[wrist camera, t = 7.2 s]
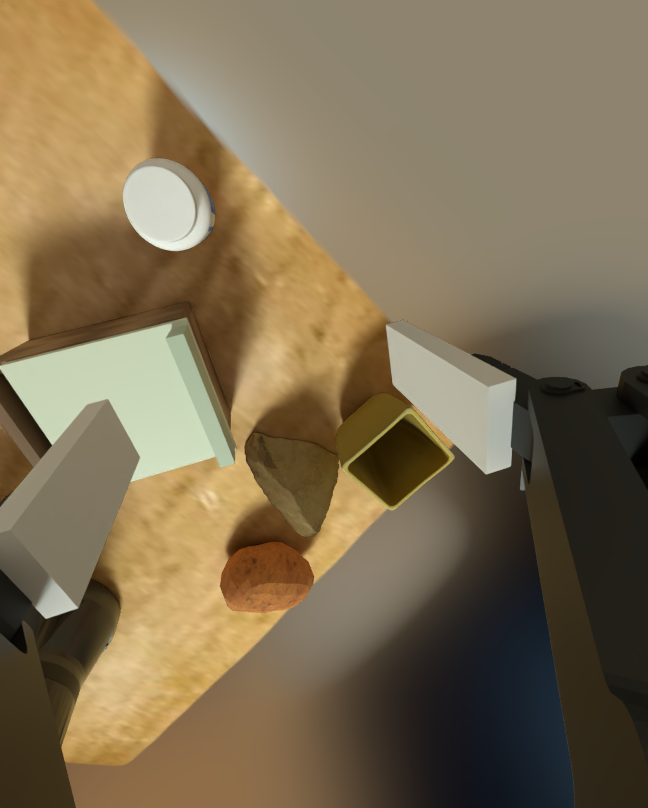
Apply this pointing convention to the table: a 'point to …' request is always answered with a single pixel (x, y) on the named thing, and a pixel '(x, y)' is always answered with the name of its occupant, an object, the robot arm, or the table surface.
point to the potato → (266, 578)
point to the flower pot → (389, 449)
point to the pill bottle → (168, 204)
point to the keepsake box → (3, 399)
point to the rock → (294, 478)
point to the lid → (132, 394)
